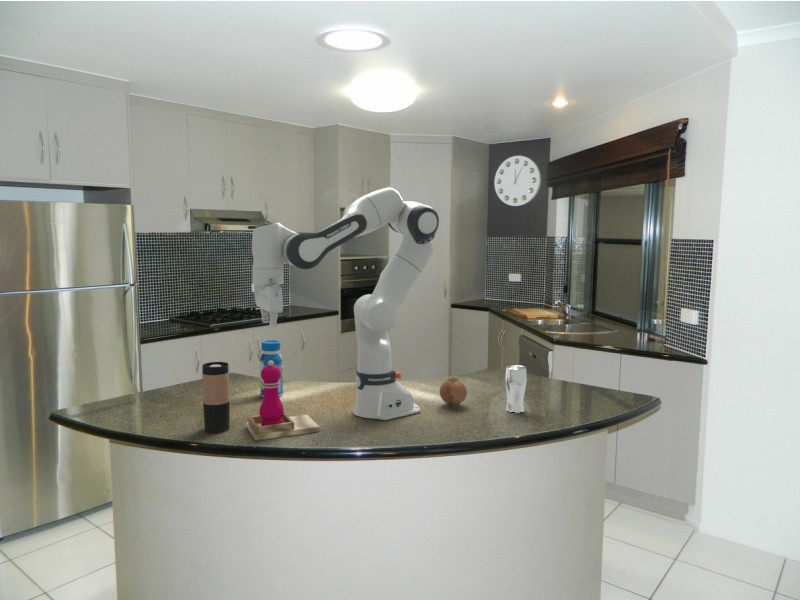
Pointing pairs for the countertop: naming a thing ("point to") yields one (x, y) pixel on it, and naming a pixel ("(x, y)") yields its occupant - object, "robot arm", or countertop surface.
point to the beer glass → (515, 387)
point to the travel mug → (216, 396)
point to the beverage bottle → (272, 353)
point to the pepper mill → (271, 396)
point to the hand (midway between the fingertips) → (269, 324)
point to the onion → (453, 391)
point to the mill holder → (281, 427)
